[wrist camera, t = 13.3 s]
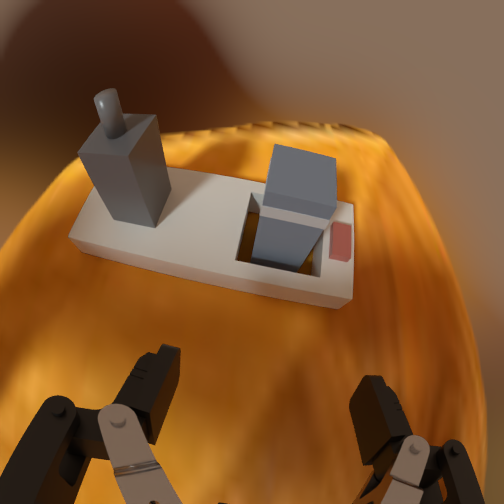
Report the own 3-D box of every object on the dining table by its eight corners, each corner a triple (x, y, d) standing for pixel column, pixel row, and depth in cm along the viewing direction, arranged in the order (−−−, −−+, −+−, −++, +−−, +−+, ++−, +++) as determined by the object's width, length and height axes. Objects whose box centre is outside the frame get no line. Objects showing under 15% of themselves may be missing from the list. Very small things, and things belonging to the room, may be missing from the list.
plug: (249, 265, 23) (264, 191, 14) (257, 225, 25) (273, 143, 16) (295, 275, 23) (337, 208, 14) (300, 234, 25) (336, 158, 16)
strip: (81, 252, 22) (0, 149, 10) (117, 179, 26) (78, 68, 14) (337, 309, 22) (447, 224, 10) (341, 221, 26) (409, 111, 14)
